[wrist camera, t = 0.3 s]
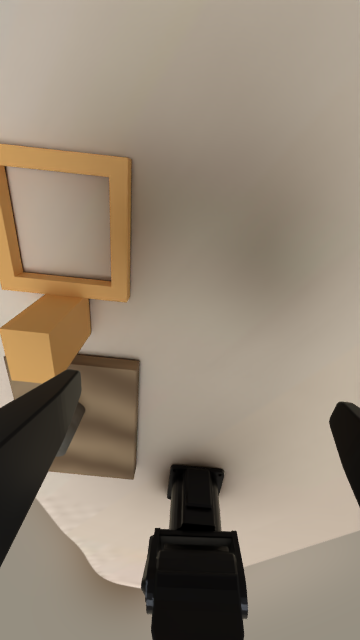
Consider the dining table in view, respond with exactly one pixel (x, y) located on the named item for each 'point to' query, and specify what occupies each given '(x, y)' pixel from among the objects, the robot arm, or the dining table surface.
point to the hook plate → (99, 418)
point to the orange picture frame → (60, 292)
